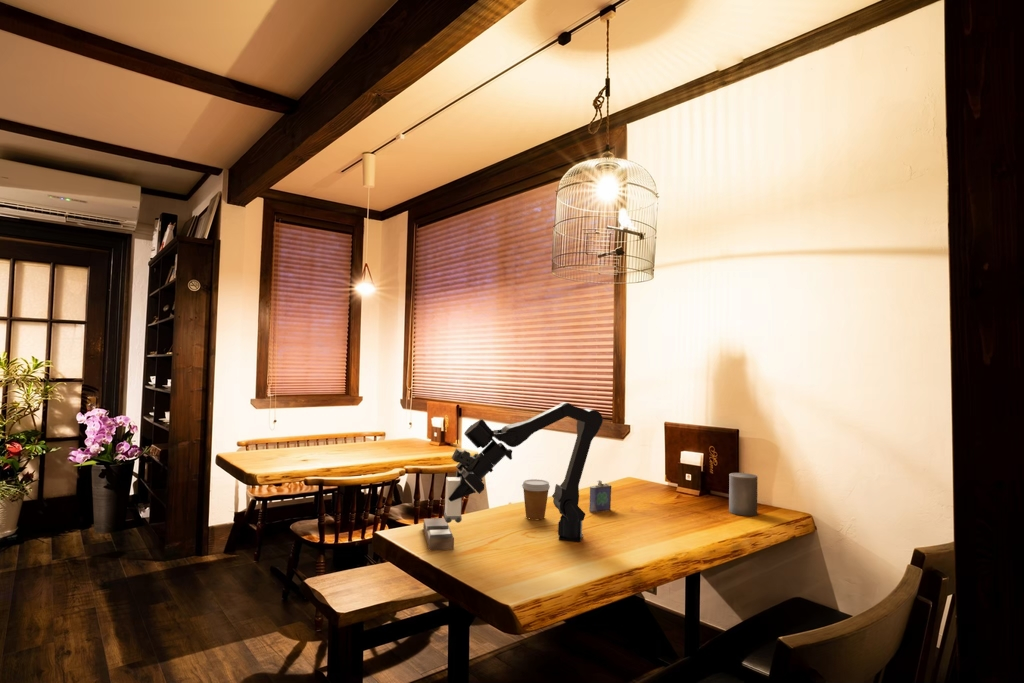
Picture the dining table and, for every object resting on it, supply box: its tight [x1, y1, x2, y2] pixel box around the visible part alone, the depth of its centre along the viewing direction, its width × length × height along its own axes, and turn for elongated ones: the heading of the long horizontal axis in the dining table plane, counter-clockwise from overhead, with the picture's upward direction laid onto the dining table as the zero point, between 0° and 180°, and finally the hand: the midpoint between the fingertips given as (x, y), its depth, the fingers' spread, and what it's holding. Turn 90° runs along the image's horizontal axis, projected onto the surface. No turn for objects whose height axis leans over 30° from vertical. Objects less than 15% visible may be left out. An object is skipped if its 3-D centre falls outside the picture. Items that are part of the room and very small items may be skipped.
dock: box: [423, 517, 455, 552], centre depth 169 cm, size 7×21×4 cm, turn 13°
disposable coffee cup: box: [521, 478, 551, 520], centre depth 194 cm, size 10×10×12 cm
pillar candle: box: [728, 471, 758, 517], centre depth 208 cm, size 10×10×15 cm
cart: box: [443, 476, 463, 524], centre depth 165 cm, size 5×6×12 cm
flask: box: [588, 480, 612, 514], centre depth 205 cm, size 9×3×11 cm, turn 121°
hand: (448, 497), depth 165 cm, fingers closed on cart, 5 cm apart
